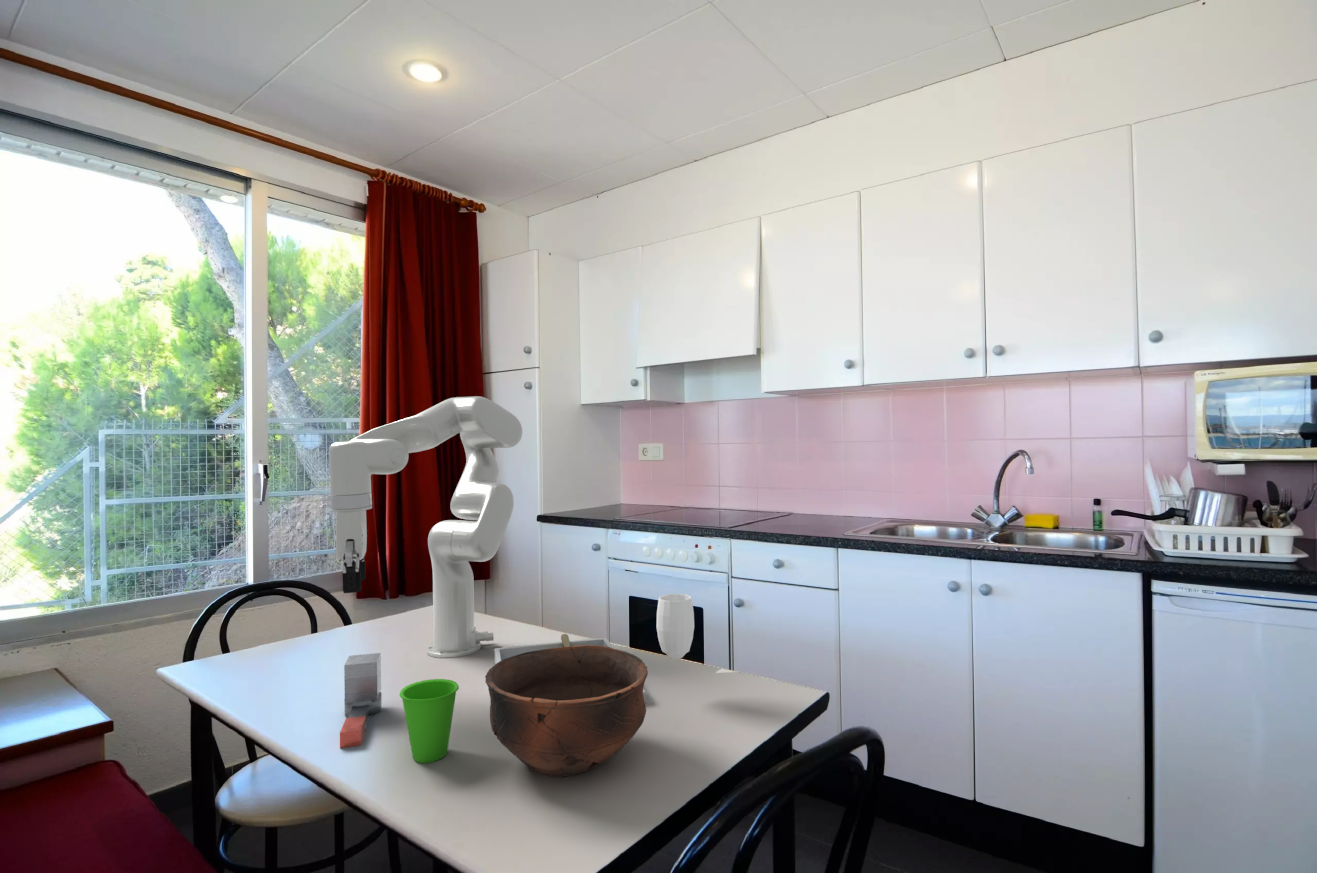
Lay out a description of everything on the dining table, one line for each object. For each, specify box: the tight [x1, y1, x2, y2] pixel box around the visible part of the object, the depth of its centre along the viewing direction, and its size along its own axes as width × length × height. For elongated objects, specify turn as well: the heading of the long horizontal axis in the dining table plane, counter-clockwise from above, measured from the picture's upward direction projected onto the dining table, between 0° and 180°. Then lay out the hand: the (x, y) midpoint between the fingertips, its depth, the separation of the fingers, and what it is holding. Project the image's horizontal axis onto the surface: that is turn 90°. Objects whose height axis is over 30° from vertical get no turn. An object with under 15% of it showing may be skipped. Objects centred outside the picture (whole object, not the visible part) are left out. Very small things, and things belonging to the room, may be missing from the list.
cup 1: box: [399, 678, 460, 764], centre depth 108 cm, size 9×9×11 cm
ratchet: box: [339, 691, 383, 749], centre depth 120 cm, size 18×6×6 cm, turn 16°
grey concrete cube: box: [343, 652, 382, 703], centre depth 126 cm, size 6×6×7 cm
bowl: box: [484, 645, 649, 778], centre depth 105 cm, size 25×25×15 cm
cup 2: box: [655, 593, 695, 660], centre depth 127 cm, size 7×7×21 cm
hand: (355, 586), depth 135 cm, fingers open, 9 cm apart
